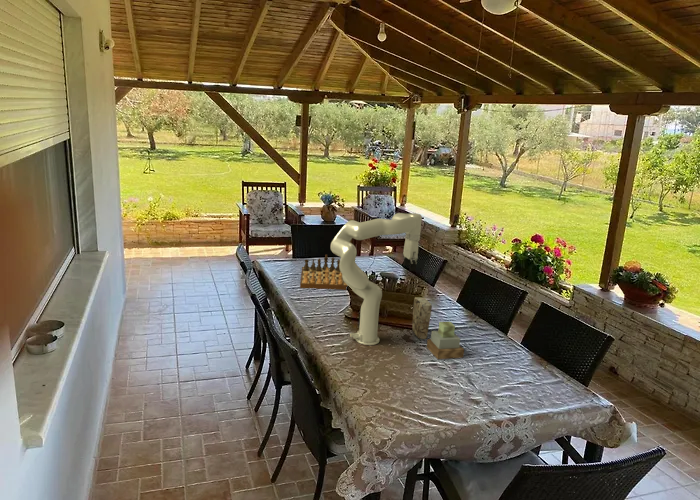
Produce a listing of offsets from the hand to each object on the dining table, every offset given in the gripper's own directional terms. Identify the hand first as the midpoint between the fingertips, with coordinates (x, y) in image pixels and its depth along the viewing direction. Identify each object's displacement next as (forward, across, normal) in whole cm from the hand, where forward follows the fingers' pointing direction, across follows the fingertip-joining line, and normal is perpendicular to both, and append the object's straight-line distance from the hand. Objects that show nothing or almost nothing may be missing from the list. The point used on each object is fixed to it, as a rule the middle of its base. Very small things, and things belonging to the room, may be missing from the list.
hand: (409, 268), depth 279 cm
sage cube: (+28, +24, +14) cm, 40 cm away
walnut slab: (+38, +25, +14) cm, 48 cm away
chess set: (+38, -96, -23) cm, 106 cm away
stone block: (+38, +2, +9) cm, 39 cm away
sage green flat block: (+33, +24, +14) cm, 43 cm away
